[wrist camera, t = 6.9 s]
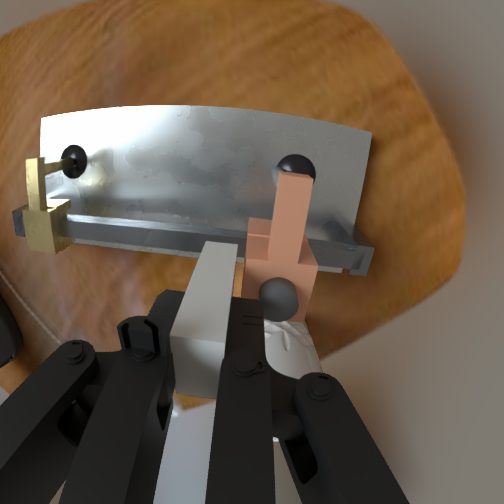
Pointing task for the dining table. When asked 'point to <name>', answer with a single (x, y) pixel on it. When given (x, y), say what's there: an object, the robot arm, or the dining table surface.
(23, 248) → the dining table surface
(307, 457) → the robot arm
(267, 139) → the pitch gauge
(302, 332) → the white cup
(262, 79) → the dining table surface
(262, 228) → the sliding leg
